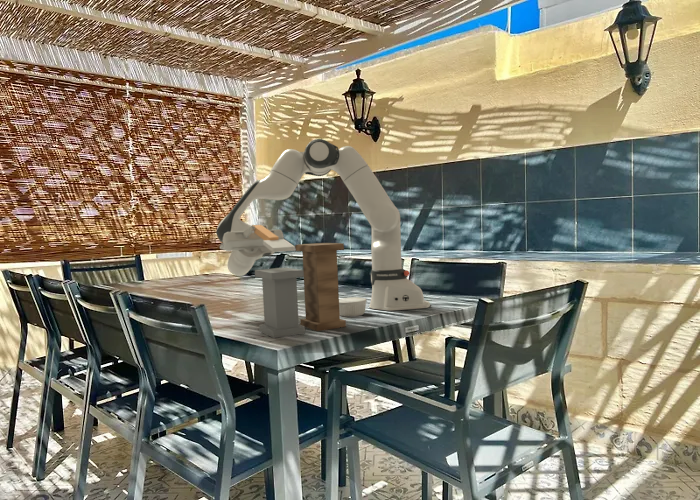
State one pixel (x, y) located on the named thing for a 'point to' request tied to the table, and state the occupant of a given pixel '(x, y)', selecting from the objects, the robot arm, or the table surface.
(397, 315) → the table surface
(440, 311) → the table surface
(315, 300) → the tall stand
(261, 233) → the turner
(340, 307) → the ramekin
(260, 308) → the table surface
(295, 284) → the low stand
